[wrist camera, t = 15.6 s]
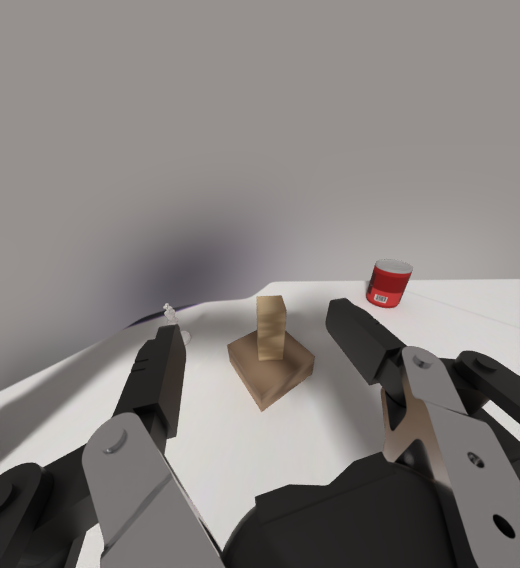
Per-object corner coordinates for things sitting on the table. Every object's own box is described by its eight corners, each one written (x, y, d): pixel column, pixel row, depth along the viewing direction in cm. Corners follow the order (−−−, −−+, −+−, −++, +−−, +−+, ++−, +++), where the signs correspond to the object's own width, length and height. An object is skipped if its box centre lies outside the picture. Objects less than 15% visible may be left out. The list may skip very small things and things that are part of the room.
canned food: (405, 308, 49) (421, 270, 43) (374, 309, 49) (386, 271, 44) (387, 292, 55) (400, 258, 50) (360, 293, 56) (370, 259, 50)
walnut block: (261, 413, 28) (260, 394, 26) (230, 362, 37) (227, 345, 34) (311, 375, 34) (314, 356, 31) (274, 338, 42) (274, 321, 39)
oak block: (258, 360, 31) (258, 311, 26) (257, 342, 34) (256, 296, 29) (282, 359, 31) (286, 310, 26) (278, 341, 34) (281, 295, 30)
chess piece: (177, 331, 44) (165, 295, 40) (195, 334, 43) (184, 299, 38) (162, 346, 40) (147, 309, 35) (181, 351, 39) (168, 313, 34)
